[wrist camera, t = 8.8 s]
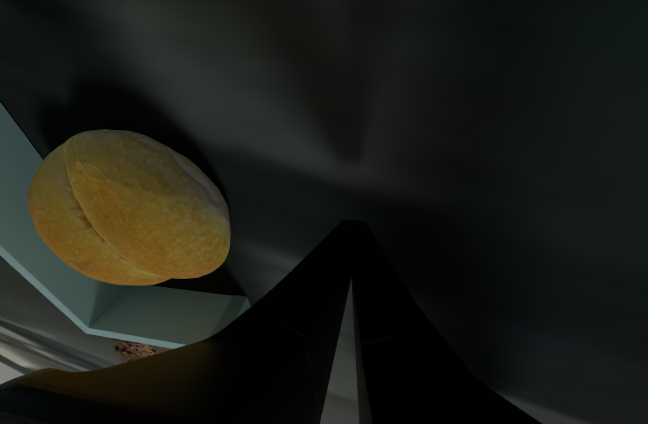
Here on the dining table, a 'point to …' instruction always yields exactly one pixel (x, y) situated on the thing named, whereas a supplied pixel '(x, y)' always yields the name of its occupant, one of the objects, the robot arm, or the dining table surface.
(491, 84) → the dining table surface
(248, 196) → the dining table surface
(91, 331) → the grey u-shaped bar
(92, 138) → the bread roll
